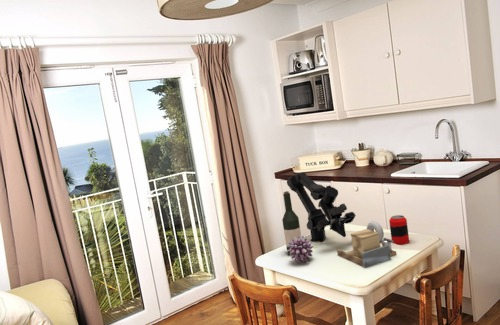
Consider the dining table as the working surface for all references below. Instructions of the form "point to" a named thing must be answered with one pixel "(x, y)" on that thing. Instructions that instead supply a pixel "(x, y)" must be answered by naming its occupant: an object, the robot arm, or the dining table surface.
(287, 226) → the wine bottle
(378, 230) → the donut
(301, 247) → the purple spiky ball
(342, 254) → the bay
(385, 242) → the post
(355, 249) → the tall wooden block
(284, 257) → the dining table surface
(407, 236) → the soda can
